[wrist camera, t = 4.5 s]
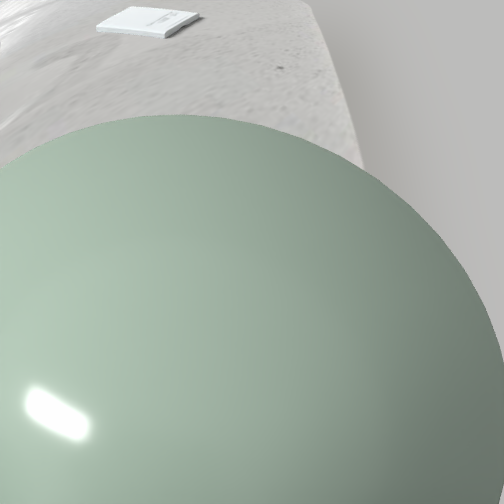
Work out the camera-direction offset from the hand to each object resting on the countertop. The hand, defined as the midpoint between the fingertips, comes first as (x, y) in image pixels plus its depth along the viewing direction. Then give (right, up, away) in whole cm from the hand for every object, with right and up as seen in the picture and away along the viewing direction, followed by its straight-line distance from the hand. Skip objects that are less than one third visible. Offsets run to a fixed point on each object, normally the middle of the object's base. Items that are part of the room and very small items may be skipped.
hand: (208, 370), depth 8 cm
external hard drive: (-14, +34, +27) cm, 46 cm away
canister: (-1, -4, +5) cm, 7 cm away
